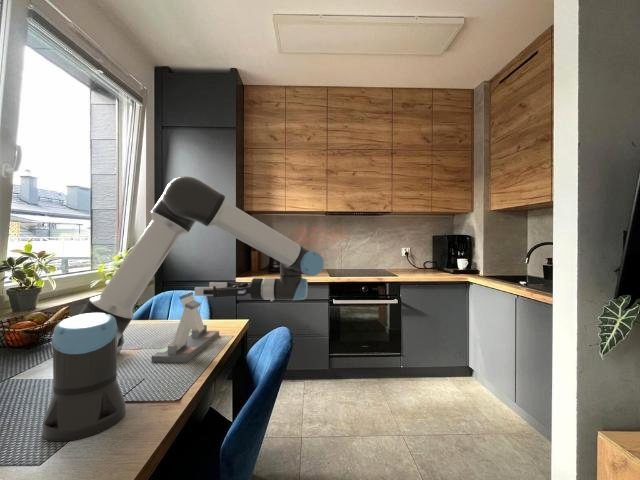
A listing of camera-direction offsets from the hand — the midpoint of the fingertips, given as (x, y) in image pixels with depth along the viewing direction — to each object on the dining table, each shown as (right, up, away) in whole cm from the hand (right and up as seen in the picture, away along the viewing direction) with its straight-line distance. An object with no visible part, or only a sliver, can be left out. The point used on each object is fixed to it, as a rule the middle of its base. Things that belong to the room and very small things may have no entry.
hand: (202, 288), depth 112 cm
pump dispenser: (-34, -24, +1) cm, 42 cm away
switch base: (-9, -24, +9) cm, 27 cm away
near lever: (-9, -21, 0) cm, 23 cm away
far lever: (-8, -21, +18) cm, 29 cm away
